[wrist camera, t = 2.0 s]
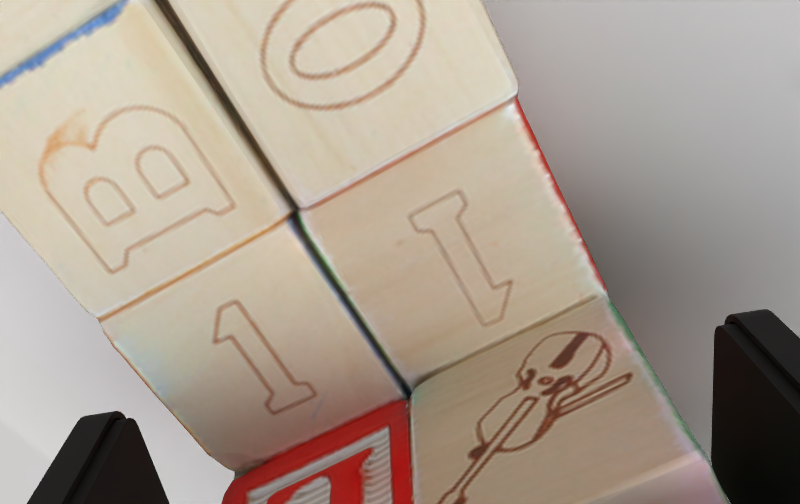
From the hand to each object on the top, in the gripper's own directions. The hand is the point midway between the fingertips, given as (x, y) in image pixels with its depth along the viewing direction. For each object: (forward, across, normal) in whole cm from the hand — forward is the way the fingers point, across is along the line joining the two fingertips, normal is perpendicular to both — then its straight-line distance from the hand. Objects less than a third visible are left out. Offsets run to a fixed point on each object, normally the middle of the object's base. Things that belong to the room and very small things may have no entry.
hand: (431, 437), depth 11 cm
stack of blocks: (+8, 0, 0) cm, 8 cm away
